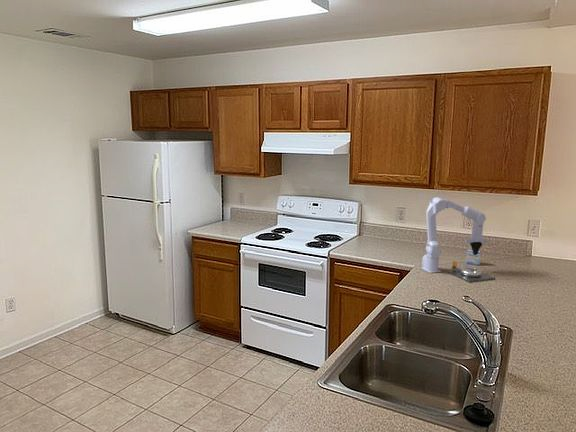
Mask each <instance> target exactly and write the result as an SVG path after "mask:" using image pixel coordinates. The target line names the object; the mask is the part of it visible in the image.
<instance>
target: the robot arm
mask: <svg viewBox="0 0 576 432" xmlns="http://www.w3.org/2000/svg"><path fill="white" fill-rule="evenodd" d="M449 208H451V209H453V210H455V211H458V212H459V213H461V215H462V216H464V217H466V218H467V219H470V220H472V229H471V236H470V237H471V238H467V239H464V244H470V247H471V250H473V254H474V255H477V253H478V251H480V249H481V247H482V246H483V243H488V242H489V239H488V238H487V237H486V238H483V230H484V223H485V221H486V220H487V218H486V215H485V213H483V212H480V211H479V210H478V209H474V208H472V206H470V205H468V206H461V205H459V203H458V204H457V203H455V202H454V201H451V200H450V199H445V198H443V197H442V198H441V197H439V196H435V197H433V198H432V199H431V200H429V204H428V207H427V209H426V210H425V211H426V212H425V214H426V215H425V217H426V232H427V233H426V234H427V241H426V246H425V252H426V254H424V255H423V256H422V260H421V261H422V262H421V267H420V269H421V270H423V271H425V272H427V273H429V274H432V273H441V272H442V270H439V262H440V261H439V260H440V255H442V254H441V253H442V251H441V249H440V245H439V242H438V233H437V219H436V218H437V217H436V215H437V214H438V213H440V212H442V211H444V210H446V209H449Z"/></svg>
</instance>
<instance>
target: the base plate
mask: <svg viewBox="0 0 576 432" xmlns="http://www.w3.org/2000/svg"><path fill="white" fill-rule="evenodd" d="M447 274H450V275H452V276H454V277H456V278H459V279H460V280H463V281H465V282H467V283H469V284H470V283H477V282H484V281H485V280H486V281H492V280H493V279H494V280H496V277H494V276H492V275H489V274H487V273H485V272H484V271H483V272H482V274H481V276H480V277H469V276H465V275H463V274H461V271H459V270H456V269H452V270H448V271H447Z"/></svg>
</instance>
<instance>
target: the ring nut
mask: <svg viewBox="0 0 576 432" xmlns="http://www.w3.org/2000/svg"><path fill="white" fill-rule="evenodd" d="M457 264H458V261H452V267H451V269H452V270H459V271H461V274H463V275H465V276H469V277H480V276H481V274H482V270H481V269H479V268H478V267H470V266H465V267H459V266H458V265H457Z"/></svg>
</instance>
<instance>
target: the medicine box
mask: <svg viewBox="0 0 576 432" xmlns="http://www.w3.org/2000/svg"><path fill="white" fill-rule="evenodd" d="M481 254H482V251H481V250H479V251H478V253H477V255H474V254H473V250H472V249H467V251H466V259H465V264H466V265H470V266H471V265H473V266H480V263H481Z"/></svg>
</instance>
